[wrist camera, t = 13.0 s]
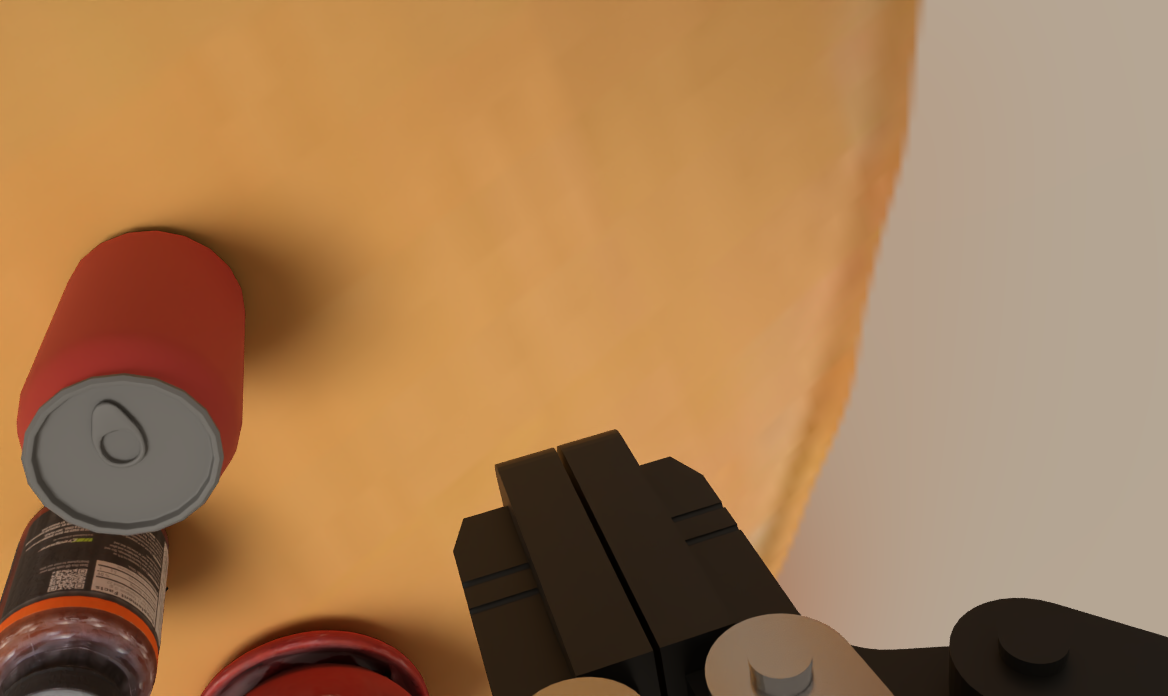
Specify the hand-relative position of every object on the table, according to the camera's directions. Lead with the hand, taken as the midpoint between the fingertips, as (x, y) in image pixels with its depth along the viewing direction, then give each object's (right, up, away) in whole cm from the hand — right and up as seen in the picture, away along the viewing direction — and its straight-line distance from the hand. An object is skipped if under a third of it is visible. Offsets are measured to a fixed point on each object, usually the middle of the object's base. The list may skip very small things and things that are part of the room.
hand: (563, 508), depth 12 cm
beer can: (-17, +4, +29) cm, 34 cm away
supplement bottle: (-21, -6, +33) cm, 39 cm away
